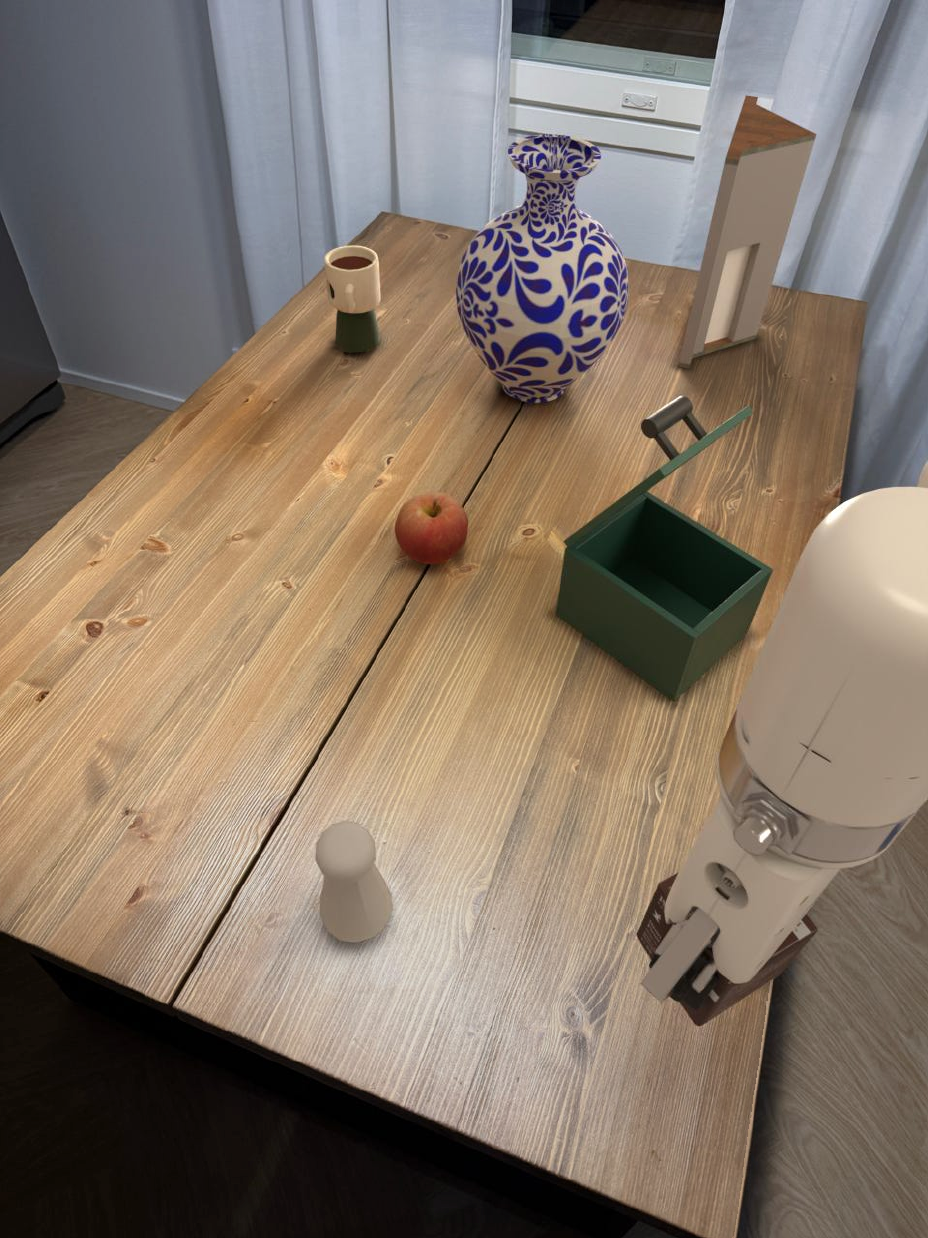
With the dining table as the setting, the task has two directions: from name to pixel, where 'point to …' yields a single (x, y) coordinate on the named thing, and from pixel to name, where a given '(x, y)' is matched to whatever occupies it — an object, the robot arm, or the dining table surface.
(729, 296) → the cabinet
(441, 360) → the dining table surface
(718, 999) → the box
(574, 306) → the vase
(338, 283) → the character mug
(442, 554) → the apple
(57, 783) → the dining table surface
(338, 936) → the salt shaker
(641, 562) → the chest
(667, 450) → the lid
